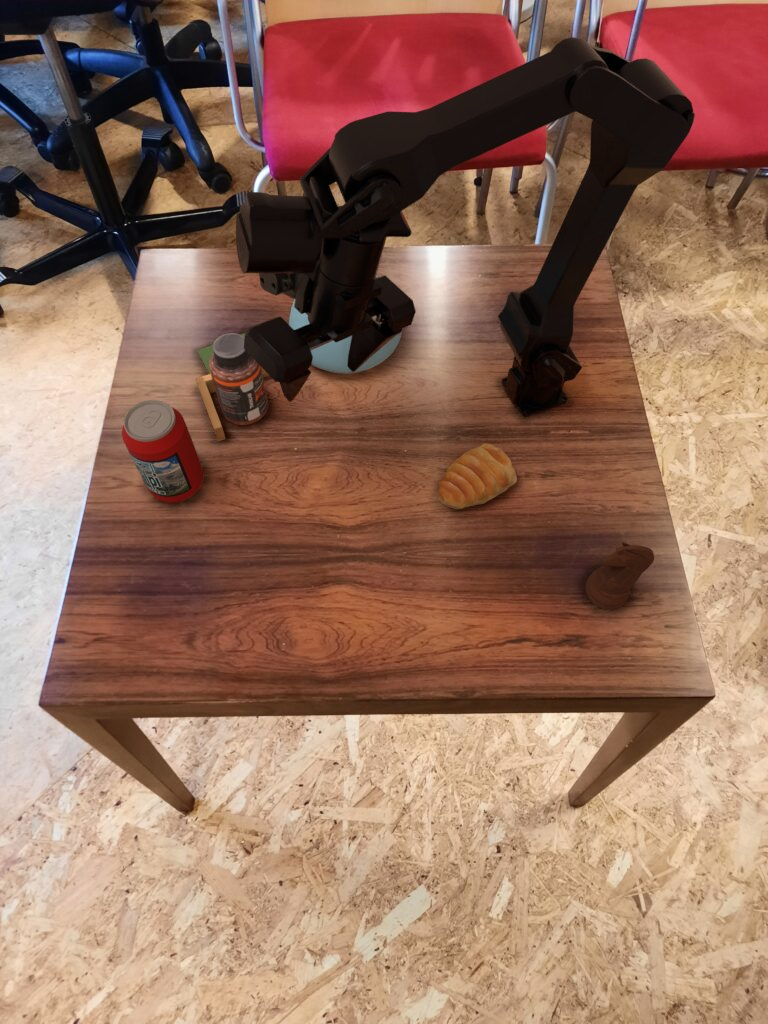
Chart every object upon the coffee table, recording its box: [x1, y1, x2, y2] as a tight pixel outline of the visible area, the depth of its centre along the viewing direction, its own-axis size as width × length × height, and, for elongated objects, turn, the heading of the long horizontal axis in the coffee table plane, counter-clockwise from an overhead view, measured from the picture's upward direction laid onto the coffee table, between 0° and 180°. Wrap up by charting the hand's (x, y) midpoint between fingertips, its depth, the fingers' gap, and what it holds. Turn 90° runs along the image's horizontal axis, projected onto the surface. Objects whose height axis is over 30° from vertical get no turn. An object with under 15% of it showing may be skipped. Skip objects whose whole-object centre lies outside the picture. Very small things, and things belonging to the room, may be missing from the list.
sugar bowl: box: [288, 274, 403, 375], centre depth 95 cm, size 15×15×12 cm
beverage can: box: [121, 399, 204, 503], centre depth 82 cm, size 7×7×12 cm
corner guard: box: [195, 367, 270, 442], centre depth 93 cm, size 10×9×2 cm
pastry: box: [437, 443, 518, 510], centre depth 86 cm, size 9×7×4 cm
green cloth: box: [196, 332, 245, 374], centre depth 98 cm, size 8×6×1 cm
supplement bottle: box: [209, 332, 269, 426], centre depth 89 cm, size 6×6×11 cm
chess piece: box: [585, 541, 655, 611], centre depth 76 cm, size 5×5×10 cm
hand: (320, 383), depth 82 cm, fingers open, 9 cm apart
